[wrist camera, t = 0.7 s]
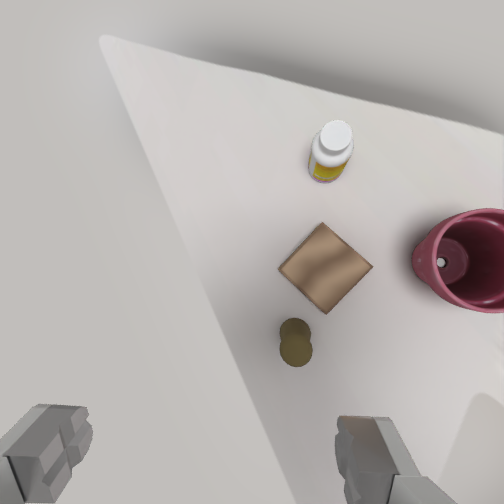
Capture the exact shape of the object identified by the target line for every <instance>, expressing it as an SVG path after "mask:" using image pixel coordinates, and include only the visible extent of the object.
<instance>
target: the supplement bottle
mask: <svg viewBox="0 0 504 504" xmlns="http://www.w3.org/2000/svg"><path fill="white" fill-rule="evenodd" d="M353 148H354V142H353V138H352V129H351V127H350V126H349V125H348V124H347V123H346V122H344V121H341V120H333V121H330V122H328V123H327V124H325V125H324V127H323V128H322V129H321V130H320V131H319V132H318V133H317V134H316V135H315V137H314V139H313V141H312V146H311V152H310V158H309V166H308V168H309V173H310V175H311V176H312V177H313V178H314V179H315V180H316V181H318V182H322V183H328V182H332V181H334V180H335V179H337V178H338V177H339V176H340V174H341V173H342V171H343V169H344V167H345V165H346V163H347V162H348V160H349V158H350V156H351V154H352V152H353Z"/></svg>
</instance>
